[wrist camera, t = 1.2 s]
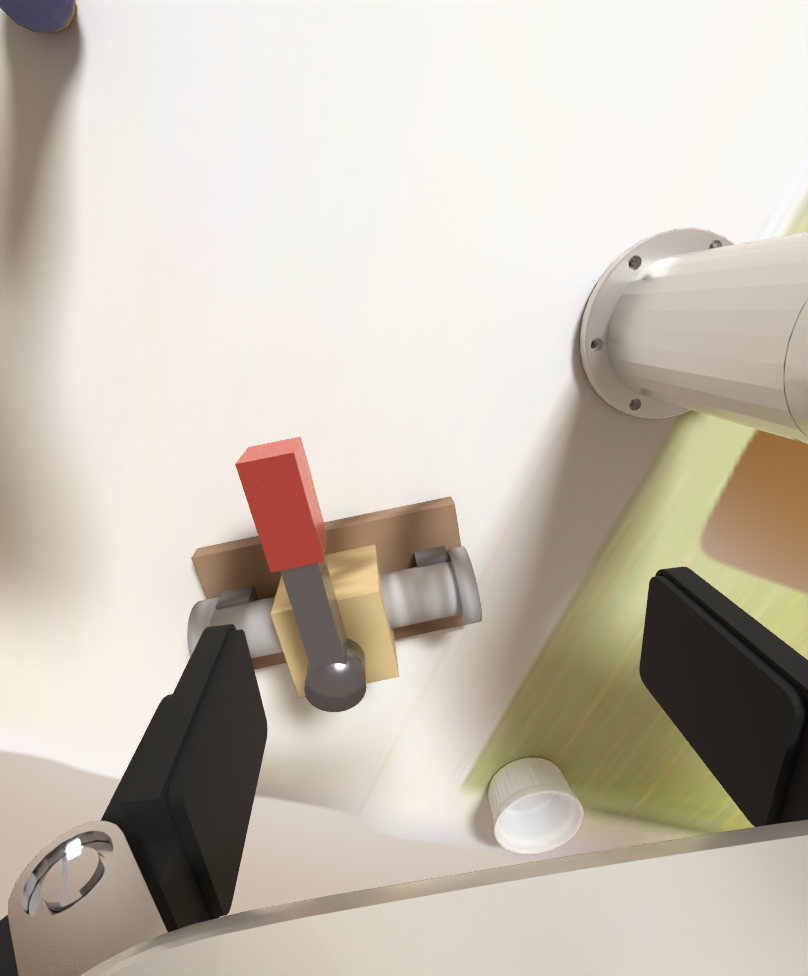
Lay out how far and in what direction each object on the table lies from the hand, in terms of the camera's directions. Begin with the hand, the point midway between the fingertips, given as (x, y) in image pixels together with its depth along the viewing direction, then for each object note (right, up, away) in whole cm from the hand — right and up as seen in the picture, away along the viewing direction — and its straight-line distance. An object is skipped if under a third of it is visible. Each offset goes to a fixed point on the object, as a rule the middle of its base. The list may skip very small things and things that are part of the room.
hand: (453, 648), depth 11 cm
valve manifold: (-6, -4, +28) cm, 29 cm away
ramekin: (+11, -27, +39) cm, 48 cm away
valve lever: (-7, -1, +17) cm, 18 cm away
